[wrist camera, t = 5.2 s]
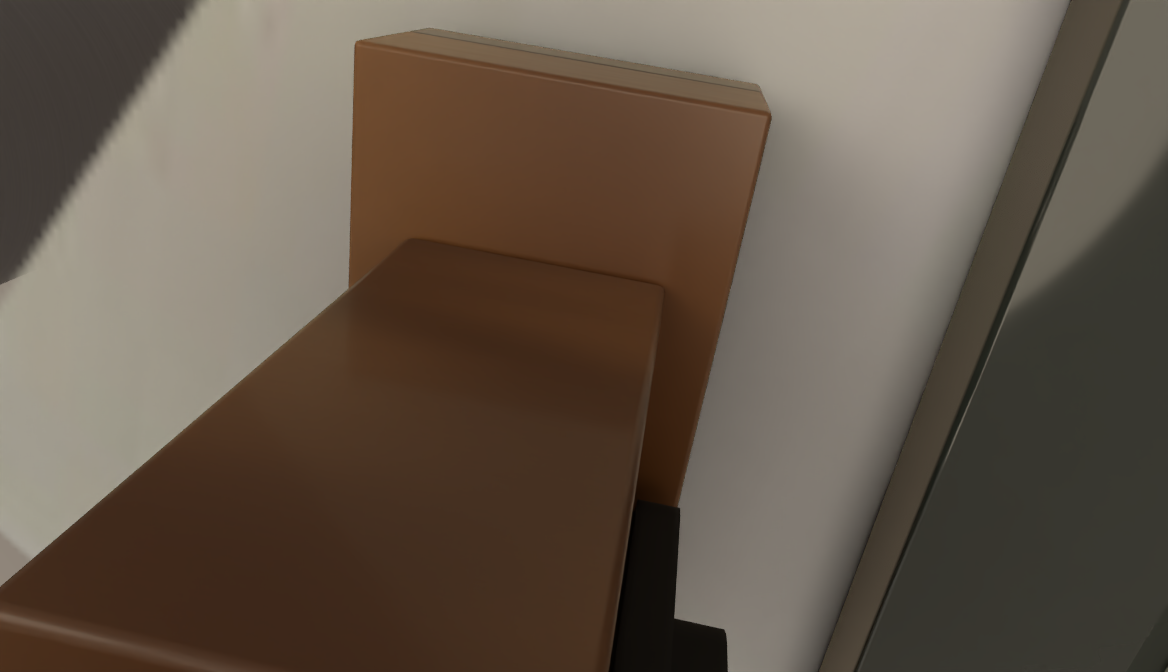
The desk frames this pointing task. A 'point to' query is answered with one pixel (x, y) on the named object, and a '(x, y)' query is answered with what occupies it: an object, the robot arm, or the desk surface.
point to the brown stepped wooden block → (440, 391)
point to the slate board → (1044, 399)
